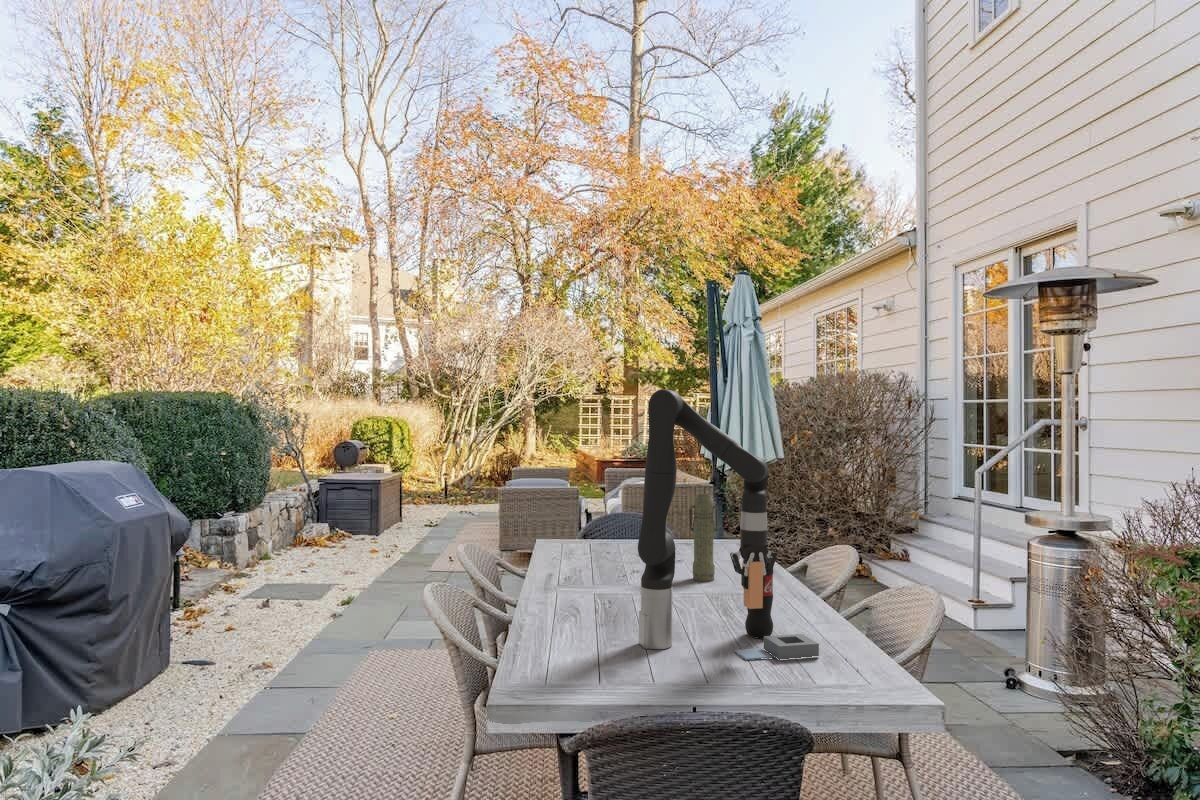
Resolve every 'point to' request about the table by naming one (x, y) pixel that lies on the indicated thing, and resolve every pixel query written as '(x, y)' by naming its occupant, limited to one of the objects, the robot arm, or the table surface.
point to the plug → (754, 586)
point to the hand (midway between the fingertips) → (753, 588)
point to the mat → (753, 654)
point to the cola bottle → (762, 611)
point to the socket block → (791, 646)
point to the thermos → (703, 537)
